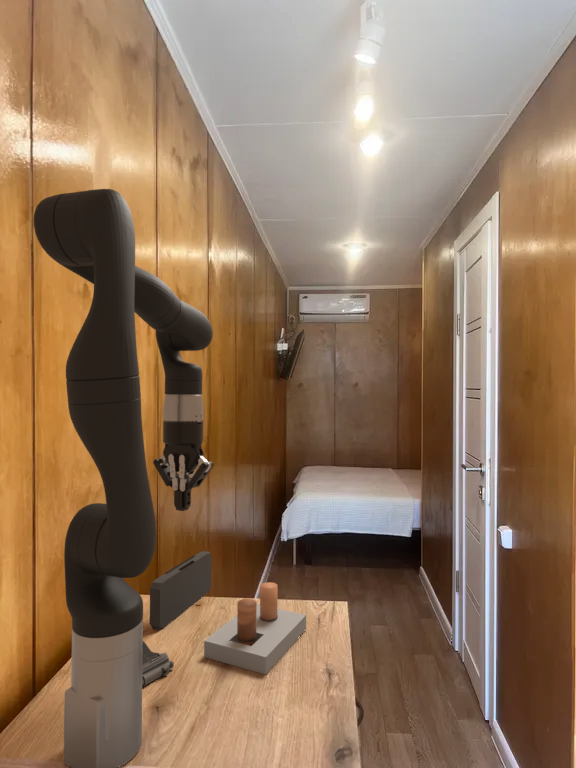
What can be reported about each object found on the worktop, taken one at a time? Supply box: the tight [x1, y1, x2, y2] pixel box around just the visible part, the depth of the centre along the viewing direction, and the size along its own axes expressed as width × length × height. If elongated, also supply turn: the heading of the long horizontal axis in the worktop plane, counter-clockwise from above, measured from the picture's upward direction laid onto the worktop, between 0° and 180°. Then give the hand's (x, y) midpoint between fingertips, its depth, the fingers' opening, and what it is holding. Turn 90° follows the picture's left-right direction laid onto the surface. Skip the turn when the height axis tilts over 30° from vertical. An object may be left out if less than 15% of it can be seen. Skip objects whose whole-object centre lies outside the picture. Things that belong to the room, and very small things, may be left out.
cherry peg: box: [236, 598, 257, 646], centre depth 91 cm, size 4×4×10 cm
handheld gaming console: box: [149, 551, 212, 630], centre depth 110 cm, size 23×3×10 cm, turn 161°
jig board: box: [203, 581, 307, 676], centre depth 95 cm, size 18×13×10 cm
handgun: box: [142, 640, 175, 687], centre depth 82 cm, size 2×17×12 cm
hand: (182, 509), depth 91 cm, fingers closed
